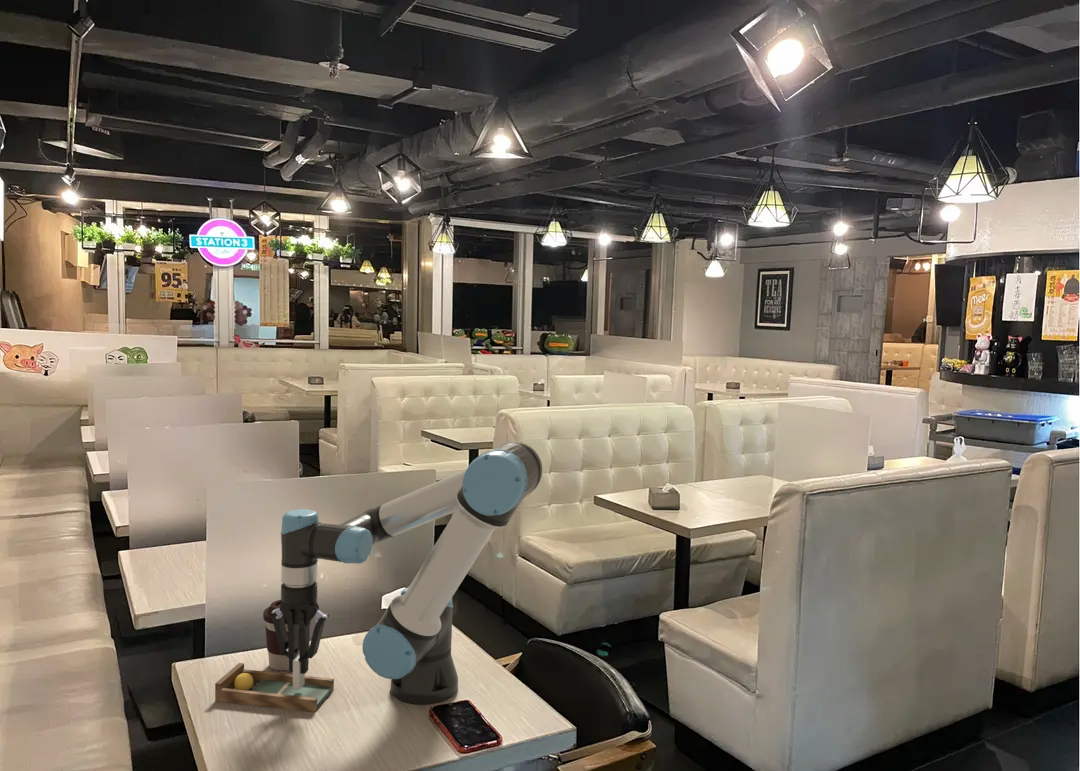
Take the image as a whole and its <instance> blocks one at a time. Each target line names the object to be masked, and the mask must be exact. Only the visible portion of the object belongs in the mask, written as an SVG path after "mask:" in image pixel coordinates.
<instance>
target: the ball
mask: <svg viewBox="0 0 1080 771" xmlns="http://www.w3.org/2000/svg"><path fill="white" fill-rule="evenodd" d="M253 685H254V684H253V677H252V676H251V675H250V674H248V673H242V674H240V675H238V676H237V677H236V679H235V681H234V686H235V689H237V690H246V691H251V690H252V688H253V687H254V686H253Z"/></svg>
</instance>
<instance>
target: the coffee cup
mask: <svg viewBox="0 0 1080 771" xmlns="http://www.w3.org/2000/svg"><path fill="white" fill-rule="evenodd" d="M281 602H282V600H281V599H278V600H274V601H273V602H272V603H271V604H270V605H269V606H268V607H266V608H265V609H264V610H263V613H262V614H263V617H262V618H263V620H264V622H265V623H266V625H265V638H266V651H267V654H268V665H269V667H270V668H271V669H272V670H274V671H279V672H280V671H282V672H283V671H289V658H288V657H287V656H285V655H284V656H282V655H281V654H280V650H279V645H278V641H277V637H276V632H275V628H274V624H273V622H272V620H271V618H270V617H269V614H270V613H271V612H272V611H273V610H275V609H278V608H279V606H280V604H281ZM283 618H284V622H285V626H286V631H287V635H288V629H287V620H286V618H285V617H284V615H283ZM299 651H300V630H299V628H298V652H299ZM298 655H300V652H299V653H298V654H297V656H298Z"/></svg>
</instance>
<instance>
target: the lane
mask: <svg viewBox="0 0 1080 771" xmlns="http://www.w3.org/2000/svg"><path fill="white" fill-rule="evenodd" d="M242 673H248V674H250V675H251V676H252V677H253V685H254V684H256V685H255V686H253V687H252V688H251V689H250V690H248V691H246V690H237V689H236V688H235V686H234V681H235V679H236V677H237V676H238V675H240V674H242ZM334 687H335V678H330V677H320V676H311V675H305V684H304V685H303V686H302V687H301V688H300V689H299V690H296V689H293V673H284V672H283V673H282V672H275V671H274V672H273V671H265V670H263V671H262V670H256V669H255V670H254V669H253V670H252V669H246V668H245V663H243V662H238V663H237V664H236V665H235V666H234V667H232V669H230V670H229V671H228V672H226V674H224V675H223V676H222V677H221V678H219V679H218V680H217V681H216V682H215V684H214V689H215V690H214V691H215V692H214V694H215V695H214V696H215V698H214V701H215V702H221V703H226V704H227V703H228V704H229V703H230V704H238V705H248V706H257V707H265V708H273V709H283V710H291V711H301V712H310V713H316V712H317V710H318V709H319V708H320V707H321V705H323V703H324V702H325V701H326V699H328V697H329V696H330V695H331V694H332V693H333V691H335V688H334Z"/></svg>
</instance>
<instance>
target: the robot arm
mask: <svg viewBox="0 0 1080 771" xmlns="http://www.w3.org/2000/svg"><path fill="white" fill-rule="evenodd" d="M542 476H543V463H542V460H541V458H540V455H539V454H538V452H536V450H535V449H534V448H533V447H531V446H529V445H528V444H527V443H523V442H518V441H510V442H506V443H503V444H501V445H499V446H498V447H495V448H493V449H491V450H490V449H489V450H487V451H485V452H483V453H481V454H480V455H478V456H477V457H476V458H475V459H473V460H472V461H471V463H470V464H469V465H468V466H467V468H466V469H464V470H462V471H460V472H457V473H455V474H452V475H450V476H447V477H445V478H443V479H441V480H440V479H439V481H436V482H433V483H431V484H429V485H426V486H424V487H421V488H418V489H417V490H413V491H412V492H410V493H407V494H405V495H403V496H400V497H398V498H395V499H392V500H390V501H389V502H388V501H387V502H386V503H384V504H381V505H379V506H376V507H372V508H369V509H367V510H365V511H363V512H362V513H360V514H358V515H356V516H354V517H353V518H350V519H348V520H346V521H344V522H342V523H340V524H335V523H334V524H333V523H325V522H322V521H321V522H320V520H319V519H320V518H319V515H318V512H317V511H315V510H312V509H307V508H299V509H293V510H289V511H287V512H285V513H284V514H283V515H282V517H281V530H280V531H281V532H280V542H281V544H280V545H281V563H280V564H281V566H280V567H281V568H280V571H281V572H280V582H281V585H280V600H282V602H281V604H280V606H279V608H278V609H275V610H273V611H272V612H271V613H270V614H269V617H270V618H271V620H272V622H273V624H274V628H275V632H276V637H277V641H278V645H279V650H280V654H281V655H282V656H284V655H285V656H287V657H288V658H289V670H288V671H289V674H293V689H296V690H299V689H300V688H301V687H302V686H303V685H304V684H305V676H306V674H307V673H308V671H309V661H310V660H309V659H311V660H312V658H314V656H316V654H318V651H319V647H320V643H321V640H322V635H323V631H324V626H325V624H326V622H327V620H328V619H329V618H330V614H329V613H327V612H325V613H323V612H322V611H321V610H320V606H319V605H318V581H317V580H318V559H319V560H325V561H332V562H339V563H344V564H362V563H364V562H366V561H367V560H368V558H369V556H370V555H371V553H372V550H373V546H374V545H377V544H378V543H380V542H383V541H385V540H388V539H390V538H394V537H395V536H398V535H400V534H402V533H405V532H407V531H410V530H412V529H414V528H417V527H420V526H422V525H425V524H427V523H429V522H432V521H435V520H439V519H440V518H443V517H445V516H448V515H450V514H453V515H452V517H451V518H450V520H449V521H448V523H446V524H447V525H446V526H445V527H444V529H443V530H442V533H440V536H439V538H437V541H436V542H435V544H434V546H433V548H432V549H431V551H430V552H429V554H428V556H427V557H426V559H425V561H424V562H423V563H422V565H421V567H420V569H419V570H418V572H417V574H416V575H415V577H414V579H413V580H412V581H411V584H410V585H409V586H408V587H405V588H403V589H402V590H401V591H400V595H397V596H394V598H393V599H392V600H391V602H390V603H389V605H388V607H387V608H386V610H385V611H384V614H383V615H381V616H382V617H381V618H380V619H379V621H378V622H377V623H376V625H374V626H372V627H371V628H370V629H369V630H368V631H367V632H366V634H365V636H364V638H363V640H362V648H361V649H362V653H363V655H364V660H365V663H366V664H367V665H368V666H369V668H370V669H371V670H372V671H373V672H374V673H375V674H377V675H378V676H380V677H382V678H384V679H387V680H390V692H391V694H392V696H393V697H395V698H396V699H397V700H399V701H402V702H404V703H405V702H406V703H409V704H415V705H429V704H434V703H436V704H437V703H439V702H443V701H445V700H448V699H450V698H452V697H453V696H454V695H455V694H456V692H457V691H458V689H459V676H458V673H457V669H456V666H455V663H454V659H453V656H452V636H453V635H452V633H453V632H452V631H453V630H452V629H453V608H454V605H453V596H454V595H455V594H456V592H457V590H458V588H459V587H460V586H461V583H462V582H463V581H464V579H465V577H466V576H467V574H468V572H470V569H471V568H472V566H473V565H474V563H475V561H476V560H477V558H479V555H480V554H481V553H482V550H483V549H484V547H485V545H486V544H487V543H488V541H489V539H490V537H491V536H492V534H493V533H494V531H495V530H497V529H502V528H505V527H506V526H507V525H508V523H509V522H510V520H512V517H513V515H514V514H515V512H516V511H517V510H518V508H519V506H520V505H521V503H522V502H523V501H524V499H525V498H526V497H528V496H529V495H531V493H532V492H533V491H534V490H536V489H537V487H538V485H539V484H540V482H541V479H542ZM283 615H284V617H285V618H286V620H287V629H288V635H287V631H286V626H285V622H284V618H283ZM314 617H315V625H314V628H313V631H312V636H310V635H311V634H310V633H311V632H310V630H311V629H310V628H311V627H310V626H311V624H312V620H313V619H314ZM298 628H299V630H300V651H299V652H300V655H298V656H297V654H298V653H299V652H298ZM310 637H311V641H310Z"/></svg>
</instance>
